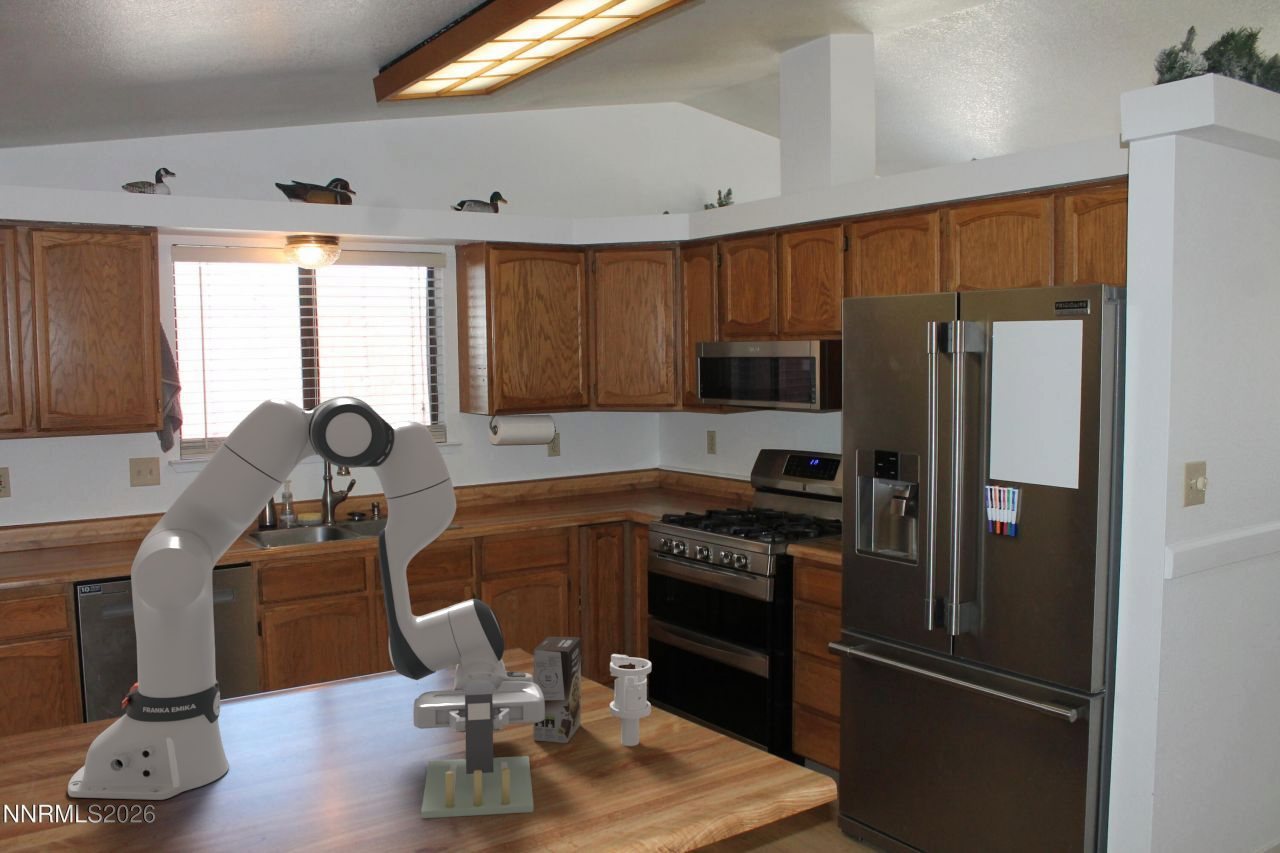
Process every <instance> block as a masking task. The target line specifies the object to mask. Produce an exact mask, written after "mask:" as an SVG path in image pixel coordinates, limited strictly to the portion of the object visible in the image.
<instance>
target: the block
mask: <svg viewBox="0 0 1280 853" xmlns="http://www.w3.org/2000/svg"><path fill="white" fill-rule="evenodd" d="M465 727H466V732H465V759H466V774H474V771H475V770H482V773H492V772H493V758H494V731H493V699H492V683H477V684H466V688H465Z"/></svg>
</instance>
